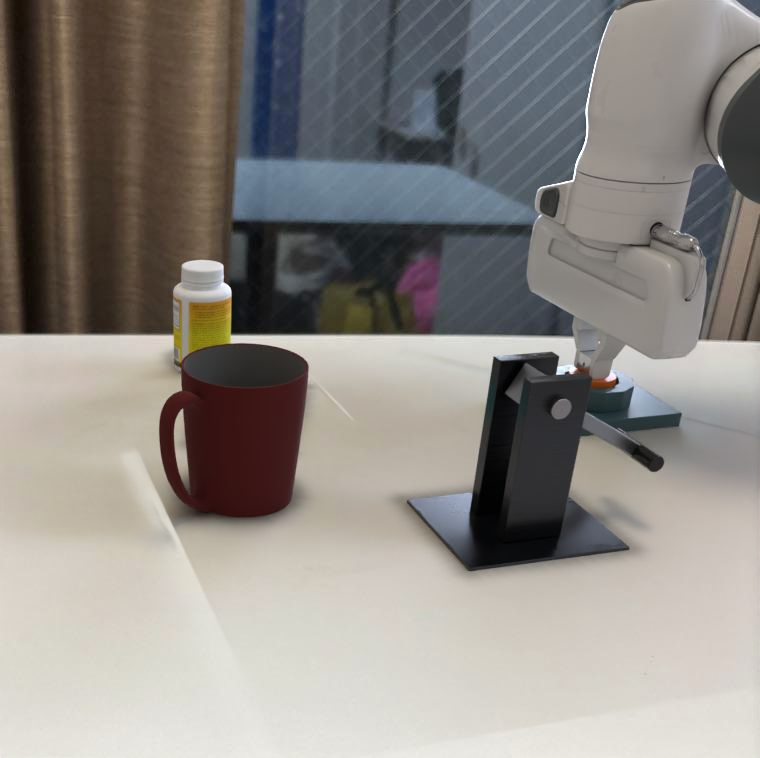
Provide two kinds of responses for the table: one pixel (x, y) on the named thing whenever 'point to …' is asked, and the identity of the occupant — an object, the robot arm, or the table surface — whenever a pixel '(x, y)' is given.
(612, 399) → the button housing
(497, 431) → the switch bracket
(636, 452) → the switch lever
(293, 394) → the mug
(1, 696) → the table surface
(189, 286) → the supplement bottle
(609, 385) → the button
